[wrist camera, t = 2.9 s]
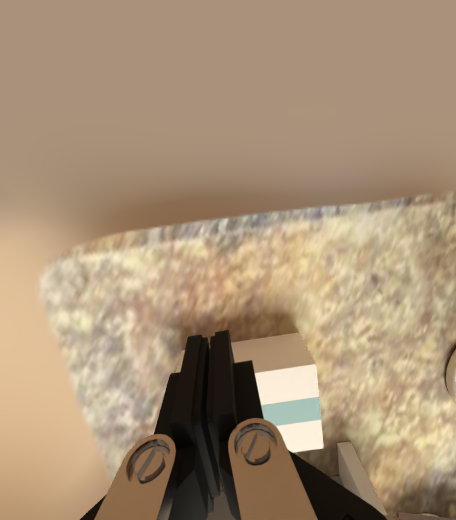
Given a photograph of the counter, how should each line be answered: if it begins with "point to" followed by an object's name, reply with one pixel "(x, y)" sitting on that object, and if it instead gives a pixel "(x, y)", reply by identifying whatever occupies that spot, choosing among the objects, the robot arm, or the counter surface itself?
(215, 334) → the robot arm
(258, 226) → the counter surface
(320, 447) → the carton
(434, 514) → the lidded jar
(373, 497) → the display stand
